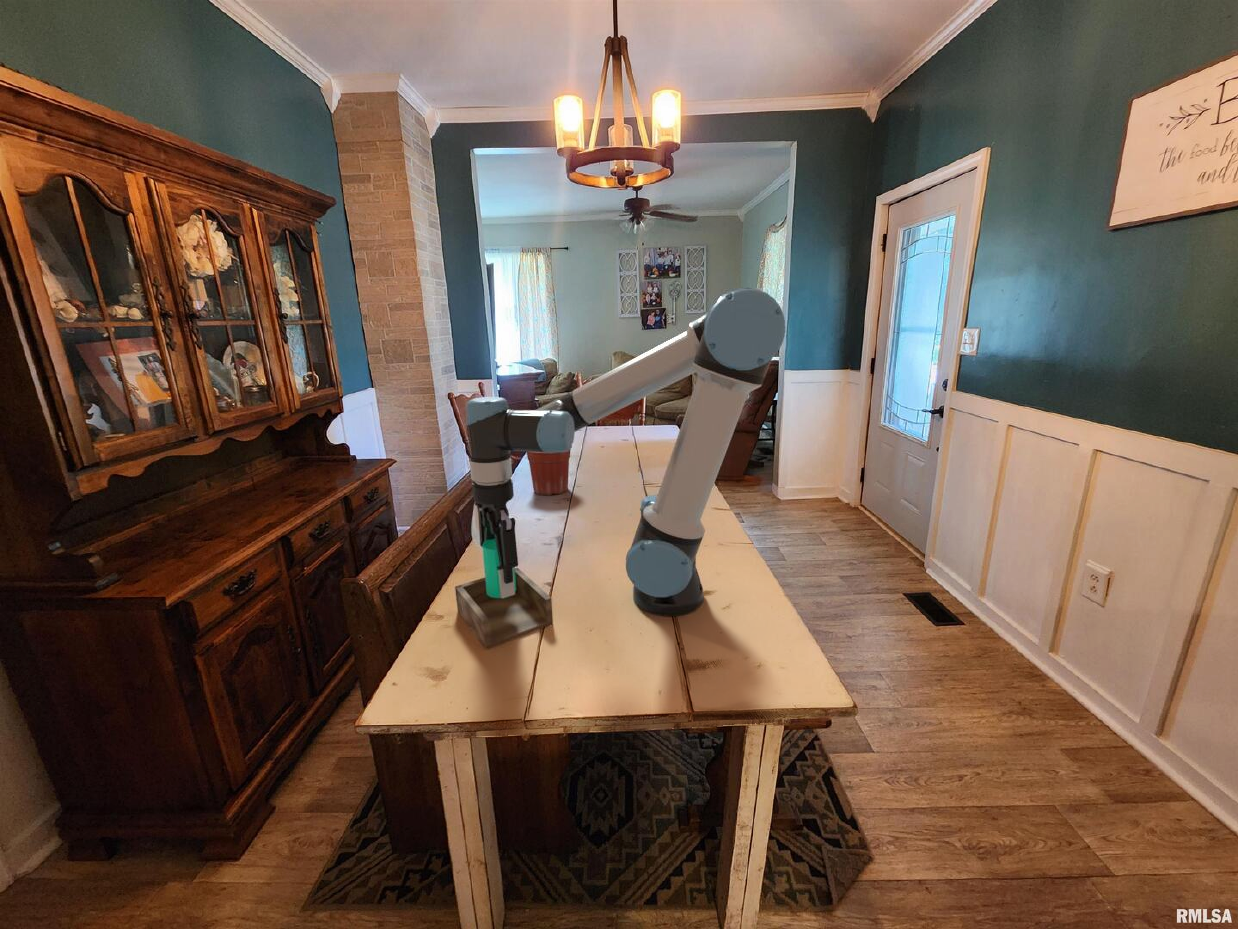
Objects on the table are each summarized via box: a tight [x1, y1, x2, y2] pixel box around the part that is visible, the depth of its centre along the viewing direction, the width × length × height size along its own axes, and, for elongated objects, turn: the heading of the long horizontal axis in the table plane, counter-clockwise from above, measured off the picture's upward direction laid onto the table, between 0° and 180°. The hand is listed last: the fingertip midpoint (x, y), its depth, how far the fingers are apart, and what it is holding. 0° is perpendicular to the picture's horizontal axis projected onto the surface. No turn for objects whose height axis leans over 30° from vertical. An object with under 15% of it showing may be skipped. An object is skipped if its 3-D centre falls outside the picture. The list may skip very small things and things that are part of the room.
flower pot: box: [525, 446, 573, 496], centre depth 182 cm, size 16×16×16 cm
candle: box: [482, 539, 516, 598], centre depth 102 cm, size 6×6×12 cm
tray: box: [454, 567, 554, 650], centre depth 105 cm, size 16×14×6 cm
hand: (501, 588), depth 104 cm, fingers closed on candle, 6 cm apart
